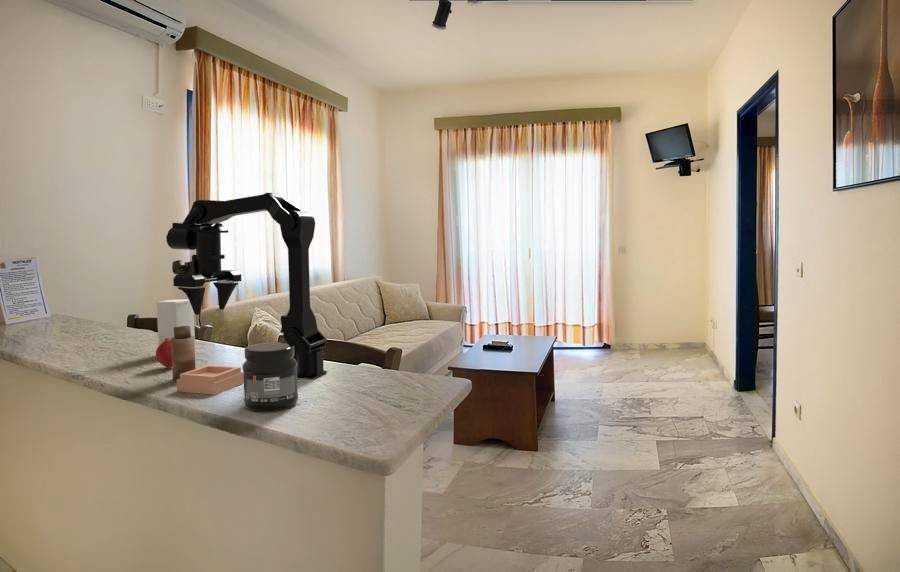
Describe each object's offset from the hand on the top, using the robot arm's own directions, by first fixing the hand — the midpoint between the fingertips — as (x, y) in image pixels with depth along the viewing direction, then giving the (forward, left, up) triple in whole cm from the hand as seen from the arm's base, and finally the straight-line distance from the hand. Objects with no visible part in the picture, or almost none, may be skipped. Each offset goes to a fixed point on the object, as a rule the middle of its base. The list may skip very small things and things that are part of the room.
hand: (209, 312), depth 142 cm
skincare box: (+22, -13, -15) cm, 30 cm away
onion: (+11, +2, -15) cm, 19 cm away
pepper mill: (-1, +10, -15) cm, 18 cm away
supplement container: (-33, +22, -15) cm, 42 cm away
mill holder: (-12, +14, -15) cm, 24 cm away
